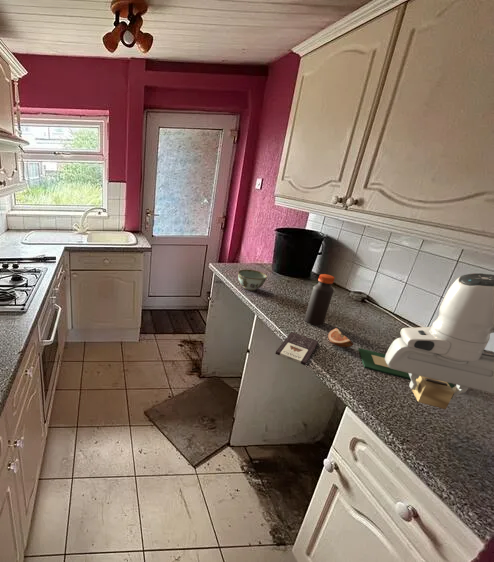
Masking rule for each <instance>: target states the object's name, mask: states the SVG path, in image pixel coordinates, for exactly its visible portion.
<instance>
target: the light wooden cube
mask: <svg viewBox="0 0 494 562" xmlns="http://www.w3.org/2000/svg"><path fill="white" fill-rule="evenodd" d="M416 381H419V383H420V385H421V387H420V390H419V391H417V390H413V389H411V392H412V393H413V395H414V397H415V399H416V401H417V403H421V404H424V405H428V406H432V407H435V408H438V409H443V410H447V408H448V406H449V404H450V402H451V400H452V399H451V398H452V396H453V394H454V391H453V390H452V388H451V387H450V385H449V384H448V383H447V382H444V381H440V380H436V379H432V378H427V377H423V376H419V378H418V379H416Z"/></svg>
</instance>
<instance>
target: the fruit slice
mask: <svg viewBox="0 0 494 562" xmlns="http://www.w3.org/2000/svg"><path fill="white" fill-rule="evenodd" d="M327 338H328V340H329V342H330V343H331V344H333V346H336V347H340V348H350V347H352V346H354V343H353V342H352V341H351V339H350V338H348V337H347V336H346V335H345V334H343V332H342V331H340V329H338V328H337V327H335V328H334V329H333V328H332V329H331V330H330V331H329V332H328V334H327Z"/></svg>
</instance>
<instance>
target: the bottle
mask: <svg viewBox="0 0 494 562" xmlns="http://www.w3.org/2000/svg"><path fill="white" fill-rule="evenodd" d="M317 280H318V281H317V282H318V283H316V284H314V286H313V287H312V290H311V294H310V298H309V300H308V304H307V308H306V312H305V314H304V321H305V322H306V323H307V324H309V325H312V326H317V327H319V326H323V325H324V323H325V321H326V316H327V313H328V310H329V307H330V304H331V301H332V297H333V295H334V292H335V291H334V288H333V286H332V285H333V284H334V281H335V276H333V275H330V274H328V273H327V274H326V273H321V274H319V276H318V279H317Z"/></svg>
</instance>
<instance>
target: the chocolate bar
mask: <svg viewBox="0 0 494 562" xmlns="http://www.w3.org/2000/svg"><path fill="white" fill-rule="evenodd" d="M318 344H319V340H317V339H313V338H311V337H307V336H305V335H303V334H299V333H296V332H294V331H291V332H290V333H289V334H288V335H287V337H286V338H285V339H284V340H283V342H282V343H281V344H280V345H279V347H278V348H277V349H276V351H275V353H274V354H275V355H278V356H279V357H283V358H285V359H287V360H290V361H293V362H296V363H298V364H300V365H303V366H306V365H307V363H308V361H309V360H310V358H311V356H312V354H313V353H314V351H315V349H316V348H317V346H318Z"/></svg>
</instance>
